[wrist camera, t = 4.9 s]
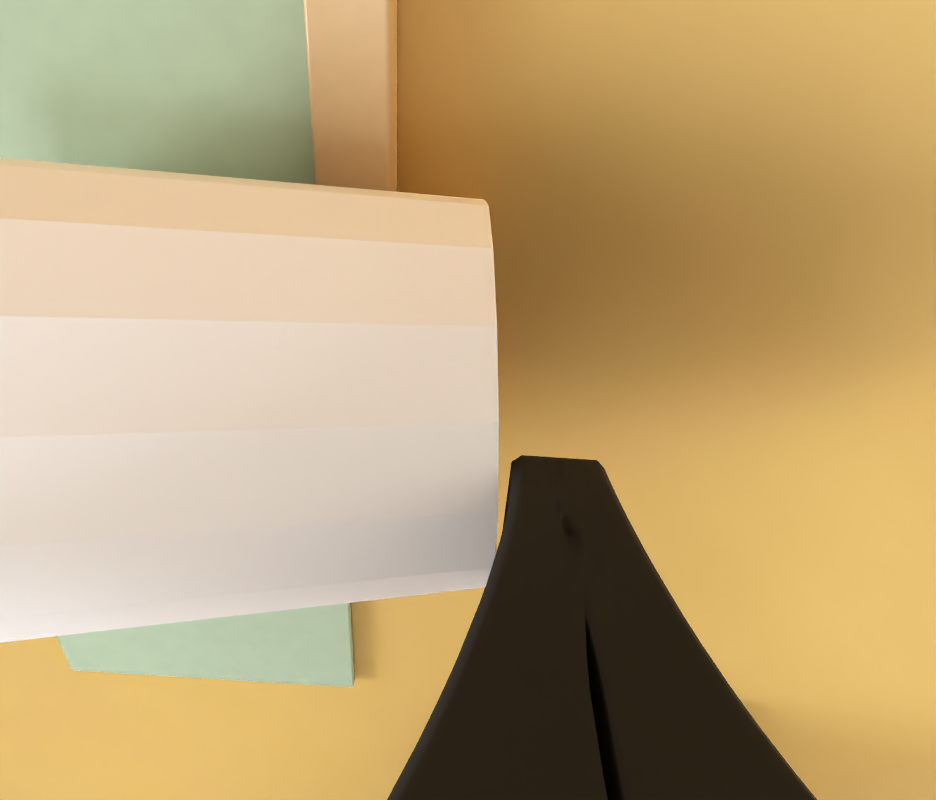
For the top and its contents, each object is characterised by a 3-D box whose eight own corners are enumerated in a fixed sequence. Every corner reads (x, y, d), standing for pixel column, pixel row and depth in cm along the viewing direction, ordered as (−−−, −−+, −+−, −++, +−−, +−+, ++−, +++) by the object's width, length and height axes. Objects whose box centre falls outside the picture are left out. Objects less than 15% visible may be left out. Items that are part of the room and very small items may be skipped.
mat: (354, 678, 22) (353, 687, 22) (75, 661, 22) (71, 670, 22) (314, -25, 11) (310, -21, 11) (-244, -65, 11) (-260, -62, 11)
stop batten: (397, 511, 18) (392, 544, 17) (344, 507, 18) (338, 540, 17) (397, -101, 11) (388, -93, 10) (309, -108, 11) (294, -100, 10)
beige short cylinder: (474, 188, 14) (96, 191, 14) (502, 91, 8) (-221, 93, 7) (477, 543, 15) (121, 549, 15) (504, 737, 9) (-141, 753, 8)
